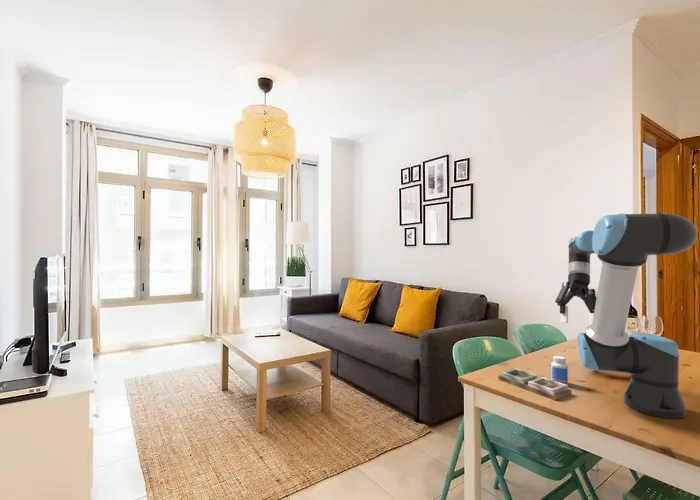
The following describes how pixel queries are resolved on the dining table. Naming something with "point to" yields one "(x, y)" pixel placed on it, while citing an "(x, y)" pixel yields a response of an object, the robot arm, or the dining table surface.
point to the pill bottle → (559, 370)
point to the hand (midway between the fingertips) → (578, 326)
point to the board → (535, 384)
